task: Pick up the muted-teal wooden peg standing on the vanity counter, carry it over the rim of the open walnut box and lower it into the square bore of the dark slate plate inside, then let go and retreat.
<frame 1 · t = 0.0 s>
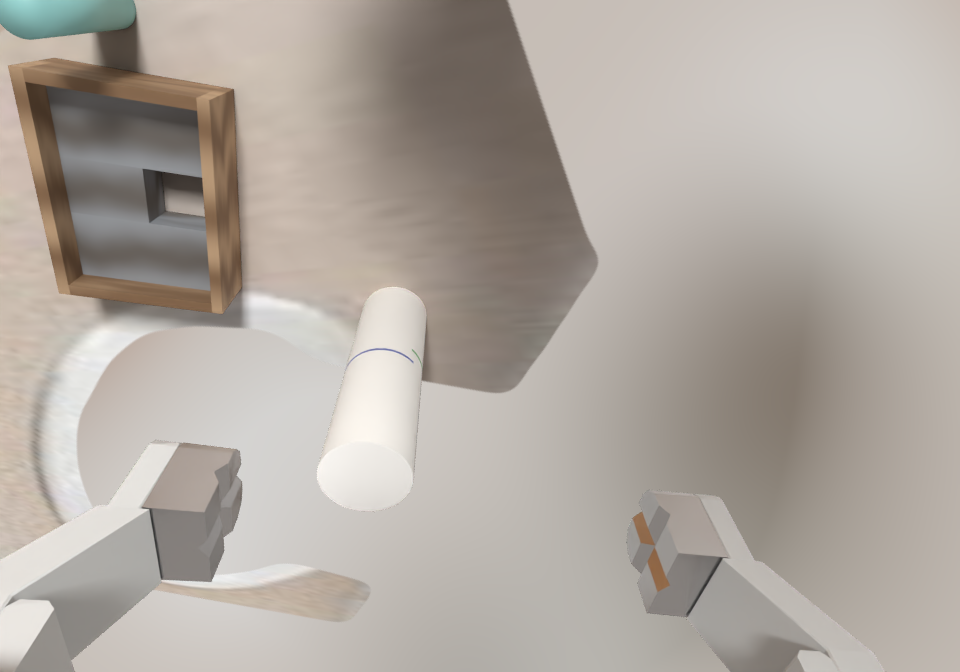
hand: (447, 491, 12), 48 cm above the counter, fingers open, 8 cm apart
peg: (112, 4, 48), on the counter
cylindrical container: (394, 314, 64), on the counter
box: (158, 184, 55), on the counter
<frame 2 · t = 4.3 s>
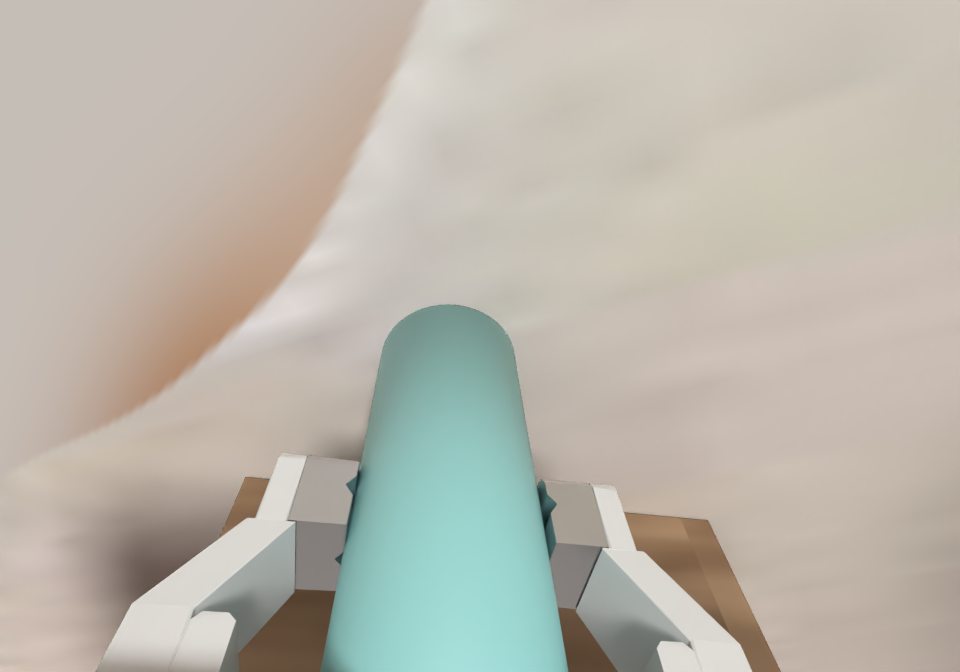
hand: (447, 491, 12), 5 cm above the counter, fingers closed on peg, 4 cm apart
peg: (448, 363, 15), on the counter, touching gripper
when the fingers open (7 cm above the counter, at t = 8.8 s): peg drops 2 cm, resting in box.
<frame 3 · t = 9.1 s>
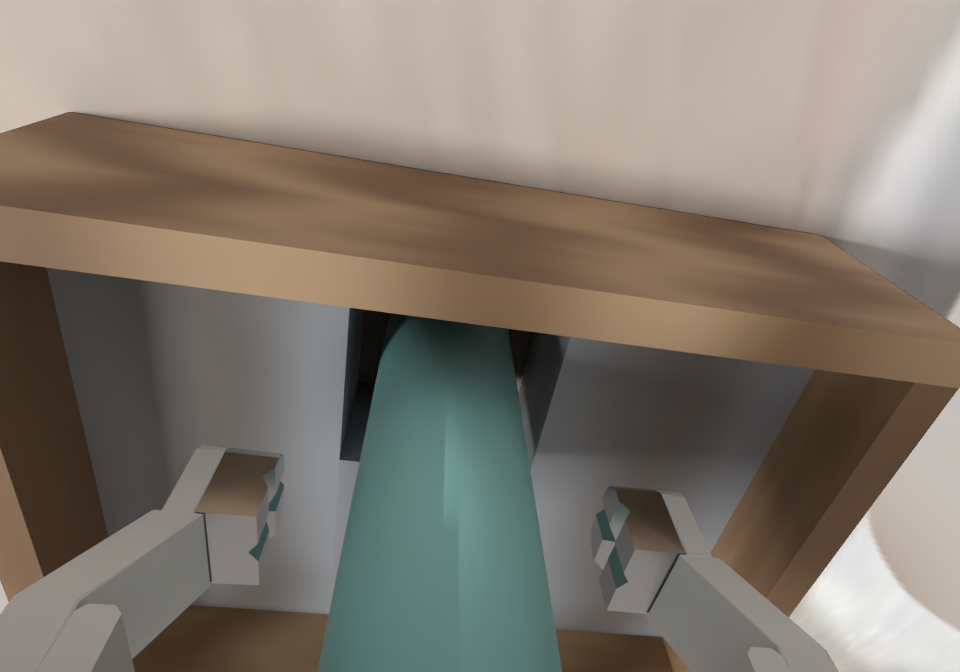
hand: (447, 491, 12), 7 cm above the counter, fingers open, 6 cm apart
peg: (447, 326, 17), resting in box
box: (436, 402, 19), on the counter
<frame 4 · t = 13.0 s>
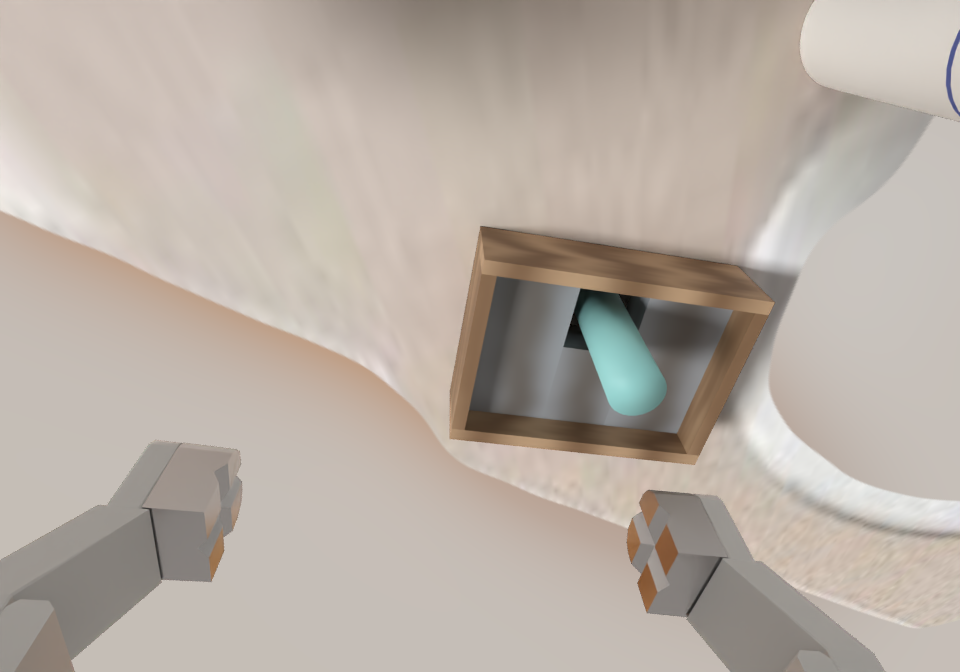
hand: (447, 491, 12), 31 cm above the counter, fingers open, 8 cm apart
peg: (594, 300, 45), resting in box
cylindrical container: (856, 27, 36), on the counter
box: (585, 332, 46), on the counter
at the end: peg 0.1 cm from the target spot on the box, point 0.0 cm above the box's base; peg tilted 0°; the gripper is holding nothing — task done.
